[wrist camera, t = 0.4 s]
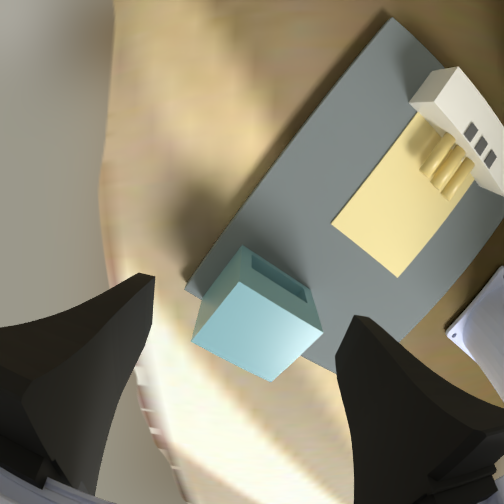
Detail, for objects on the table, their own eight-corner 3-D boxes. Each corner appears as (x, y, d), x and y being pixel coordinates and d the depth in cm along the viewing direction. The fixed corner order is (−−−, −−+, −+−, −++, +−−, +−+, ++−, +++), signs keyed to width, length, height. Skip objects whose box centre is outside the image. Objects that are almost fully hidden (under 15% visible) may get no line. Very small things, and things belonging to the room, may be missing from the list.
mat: (519, 180, 18) (526, 183, 17) (352, 376, 25) (354, 383, 24) (387, 20, 14) (392, 16, 13) (186, 283, 21) (184, 290, 20)
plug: (310, 289, 20) (323, 332, 16) (268, 335, 22) (270, 382, 18) (242, 244, 19) (239, 281, 15) (202, 297, 21) (191, 341, 16)
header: (498, 156, 16) (526, 164, 13) (456, 218, 18) (482, 233, 15) (431, 71, 14) (459, 66, 12) (381, 138, 16) (404, 142, 14)
